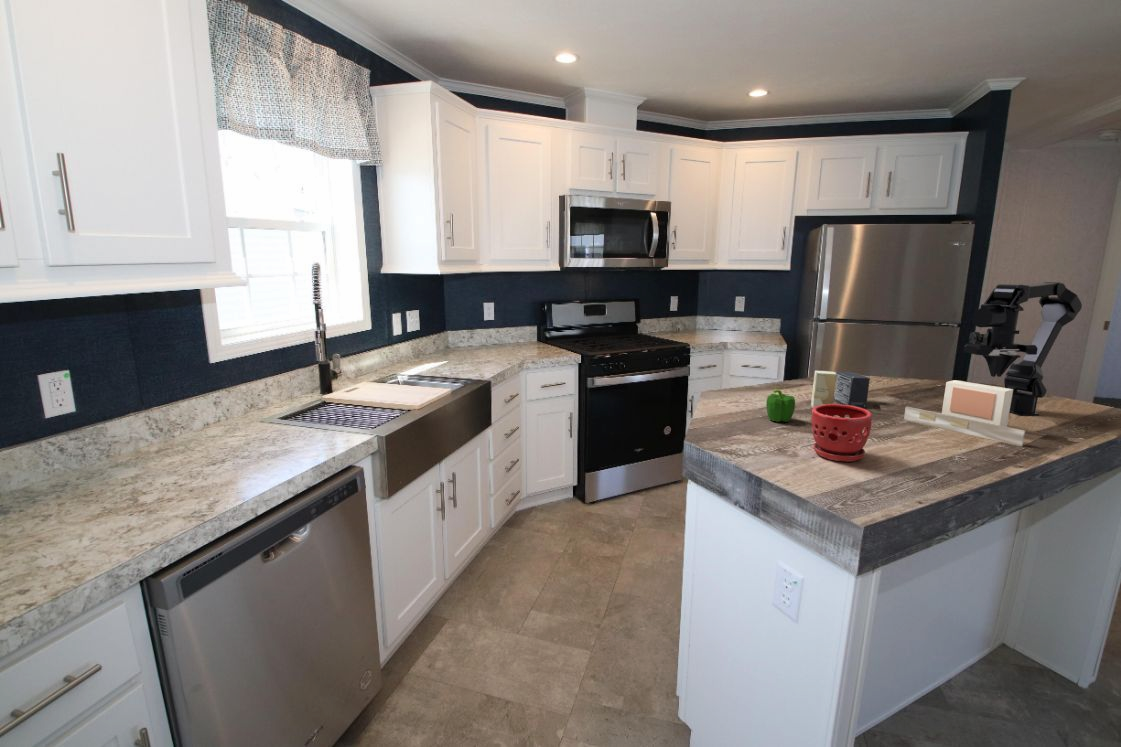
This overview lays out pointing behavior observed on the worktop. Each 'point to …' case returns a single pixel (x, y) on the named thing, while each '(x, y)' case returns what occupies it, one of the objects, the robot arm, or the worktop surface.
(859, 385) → the small box
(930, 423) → the shelf board
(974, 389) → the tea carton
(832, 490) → the worktop surface
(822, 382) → the skincare box
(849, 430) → the plant pot
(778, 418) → the bell pepper
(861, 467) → the worktop surface
